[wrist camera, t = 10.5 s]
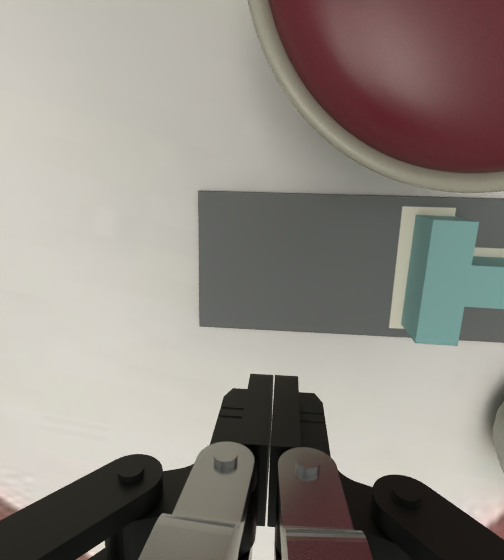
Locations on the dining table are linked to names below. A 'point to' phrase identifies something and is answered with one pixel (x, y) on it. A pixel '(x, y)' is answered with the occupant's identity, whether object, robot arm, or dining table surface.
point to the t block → (447, 279)
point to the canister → (397, 83)
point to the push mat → (326, 261)
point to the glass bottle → (499, 434)
